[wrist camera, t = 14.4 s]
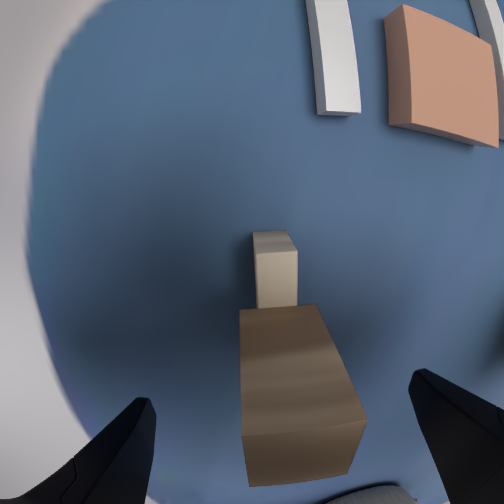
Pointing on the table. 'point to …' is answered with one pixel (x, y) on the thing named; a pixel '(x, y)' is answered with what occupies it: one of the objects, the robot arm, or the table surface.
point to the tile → (440, 79)
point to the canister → (376, 496)
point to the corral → (344, 57)
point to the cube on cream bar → (292, 379)
